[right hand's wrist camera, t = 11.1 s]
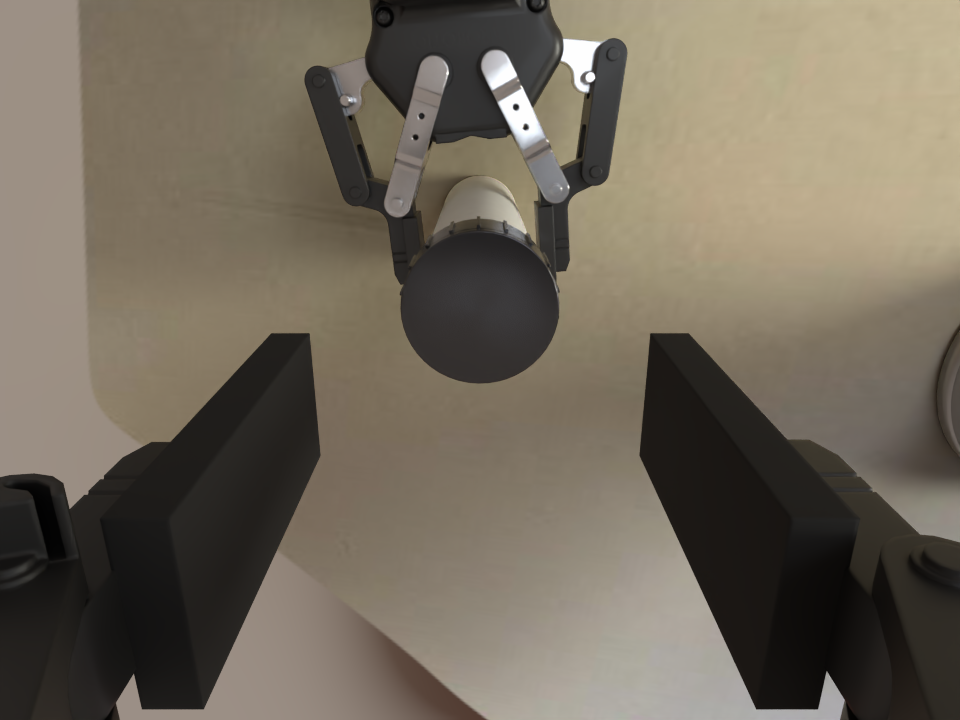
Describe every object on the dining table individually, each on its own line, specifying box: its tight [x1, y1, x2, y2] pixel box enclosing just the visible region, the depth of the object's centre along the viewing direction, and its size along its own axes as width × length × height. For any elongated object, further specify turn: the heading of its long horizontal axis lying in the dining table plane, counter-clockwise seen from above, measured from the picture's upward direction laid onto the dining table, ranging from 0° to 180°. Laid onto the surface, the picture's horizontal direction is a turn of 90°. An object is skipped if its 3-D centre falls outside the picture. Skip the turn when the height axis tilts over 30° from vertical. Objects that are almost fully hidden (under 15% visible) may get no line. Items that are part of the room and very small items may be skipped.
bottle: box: [432, 176, 527, 236], centre depth 29 cm, size 4×4×19 cm
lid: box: [400, 216, 560, 383], centre depth 21 cm, size 5×5×2 cm
